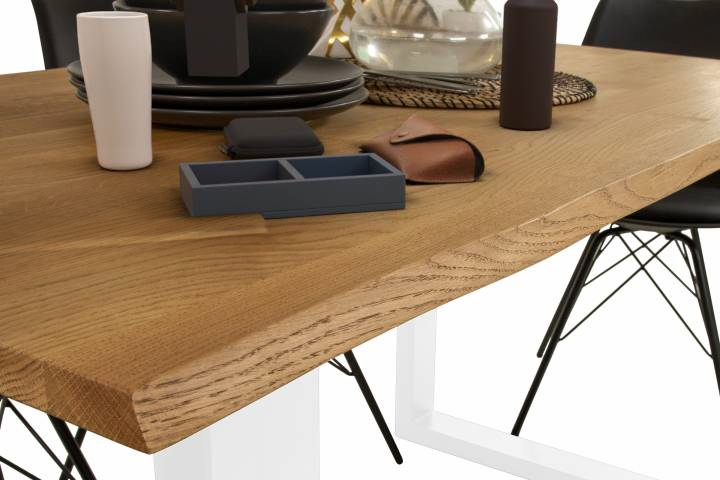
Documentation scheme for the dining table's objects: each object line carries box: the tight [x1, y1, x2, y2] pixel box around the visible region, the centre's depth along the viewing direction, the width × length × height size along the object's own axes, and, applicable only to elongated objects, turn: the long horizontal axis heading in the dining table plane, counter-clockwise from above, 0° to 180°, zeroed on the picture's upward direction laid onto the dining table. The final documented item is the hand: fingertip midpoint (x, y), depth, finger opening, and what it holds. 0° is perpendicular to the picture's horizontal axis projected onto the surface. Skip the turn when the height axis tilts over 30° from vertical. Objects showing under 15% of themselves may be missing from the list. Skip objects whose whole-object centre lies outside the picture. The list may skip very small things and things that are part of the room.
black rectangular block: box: [183, 0, 250, 78], centre depth 74 cm, size 4×5×9 cm
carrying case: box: [218, 116, 325, 160], centre depth 109 cm, size 11×3×15 cm
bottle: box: [498, 0, 559, 131], centre depth 126 cm, size 7×7×20 cm
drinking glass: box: [76, 11, 154, 171], centre depth 100 cm, size 7×7×15 cm
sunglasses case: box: [358, 112, 486, 185], centre depth 106 cm, size 18×7×7 cm, turn 22°
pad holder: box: [178, 152, 406, 220], centre depth 90 cm, size 10×18×3 cm, turn 111°
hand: (210, 3), depth 72 cm, fingers closed on black rectangular block, 3 cm apart
